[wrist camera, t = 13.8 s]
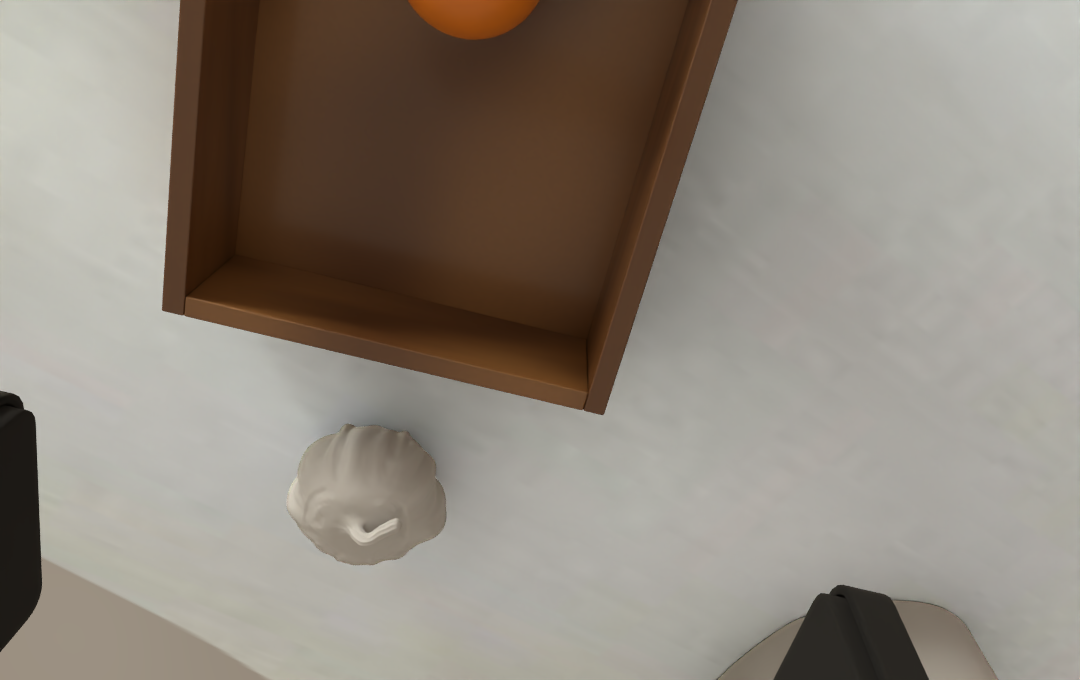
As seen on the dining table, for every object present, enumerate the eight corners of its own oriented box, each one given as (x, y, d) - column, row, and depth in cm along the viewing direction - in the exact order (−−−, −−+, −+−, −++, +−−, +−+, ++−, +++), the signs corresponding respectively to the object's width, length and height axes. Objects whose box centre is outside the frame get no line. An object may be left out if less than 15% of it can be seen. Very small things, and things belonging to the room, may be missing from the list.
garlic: (461, 411, 32) (441, 488, 27) (450, 523, 34) (430, 613, 30) (307, 392, 32) (261, 466, 27) (307, 506, 34) (263, 592, 29)
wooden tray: (750, -131, 24) (787, -151, 20) (599, 356, 31) (603, 416, 27) (264, -270, 23) (198, -321, 19) (217, 264, 30) (161, 311, 26)
